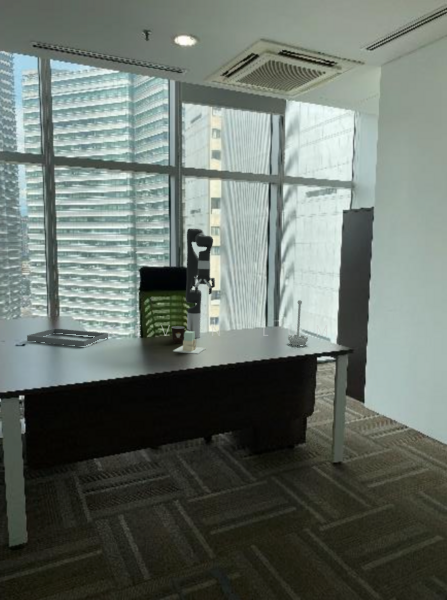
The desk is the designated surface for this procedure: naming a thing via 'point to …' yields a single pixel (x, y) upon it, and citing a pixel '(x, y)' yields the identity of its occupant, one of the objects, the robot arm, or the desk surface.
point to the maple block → (189, 345)
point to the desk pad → (196, 351)
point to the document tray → (39, 338)
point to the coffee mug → (178, 334)
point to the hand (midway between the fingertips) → (203, 293)
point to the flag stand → (296, 338)
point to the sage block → (189, 336)
